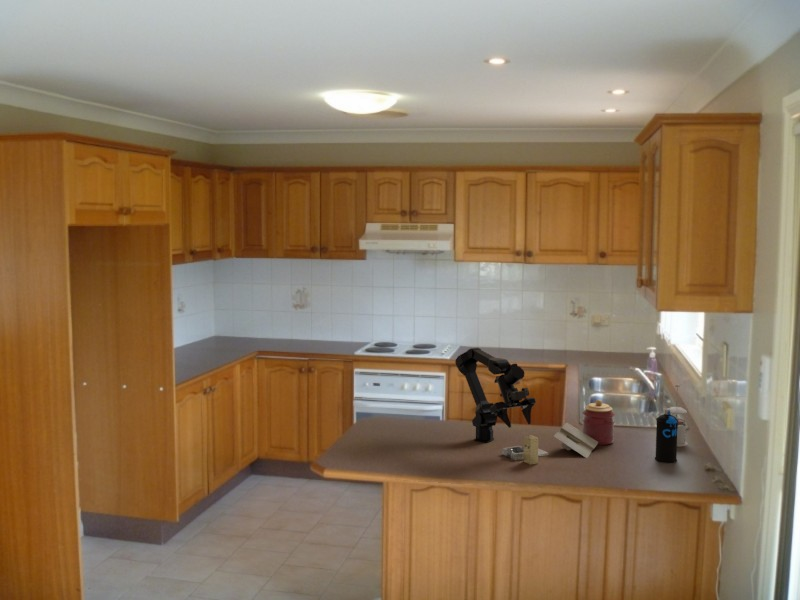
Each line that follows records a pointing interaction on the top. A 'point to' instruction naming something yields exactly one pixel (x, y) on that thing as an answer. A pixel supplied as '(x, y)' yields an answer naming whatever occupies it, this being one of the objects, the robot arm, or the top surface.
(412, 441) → the top surface
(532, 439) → the tan rectangular pillar
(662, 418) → the aerosol can
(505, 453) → the hinge base
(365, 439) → the top surface
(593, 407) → the canister
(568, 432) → the pale grey slotted block
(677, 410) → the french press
